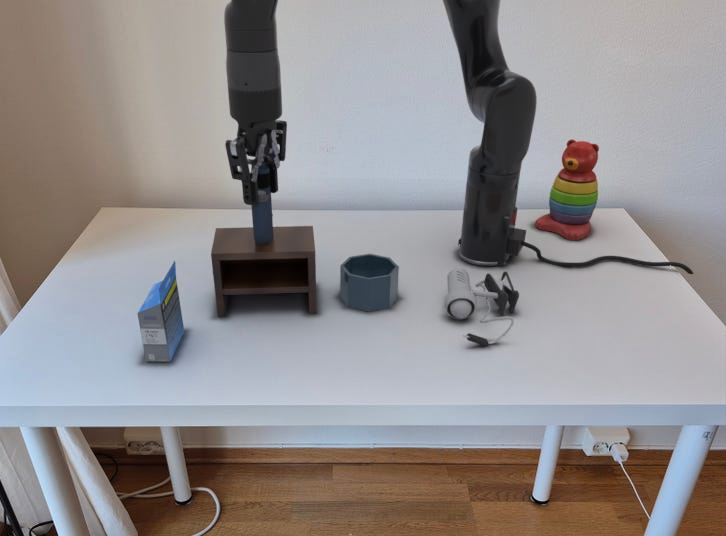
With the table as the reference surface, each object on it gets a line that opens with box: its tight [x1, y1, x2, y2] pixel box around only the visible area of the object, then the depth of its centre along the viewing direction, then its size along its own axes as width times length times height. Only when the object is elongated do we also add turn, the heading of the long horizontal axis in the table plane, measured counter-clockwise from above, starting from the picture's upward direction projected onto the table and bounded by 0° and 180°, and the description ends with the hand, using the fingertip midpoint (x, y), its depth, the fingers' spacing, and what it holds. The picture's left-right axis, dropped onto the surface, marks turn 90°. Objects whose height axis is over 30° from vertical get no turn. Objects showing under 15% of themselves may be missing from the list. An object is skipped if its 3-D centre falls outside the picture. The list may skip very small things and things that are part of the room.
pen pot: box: [339, 253, 400, 313], centre depth 118 cm, size 9×9×6 cm
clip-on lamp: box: [444, 266, 520, 347], centre depth 112 cm, size 12×6×18 cm
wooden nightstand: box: [210, 225, 318, 318], centre depth 115 cm, size 16×10×11 cm, turn 95°
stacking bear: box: [534, 139, 600, 241], centre depth 141 cm, size 11×10×18 cm
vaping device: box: [250, 161, 274, 245], centre depth 109 cm, size 3×5×12 cm, turn 174°
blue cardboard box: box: [136, 260, 185, 363], centre depth 103 cm, size 9×4×12 cm, turn 178°
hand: (261, 197), depth 108 cm, fingers open, 5 cm apart
